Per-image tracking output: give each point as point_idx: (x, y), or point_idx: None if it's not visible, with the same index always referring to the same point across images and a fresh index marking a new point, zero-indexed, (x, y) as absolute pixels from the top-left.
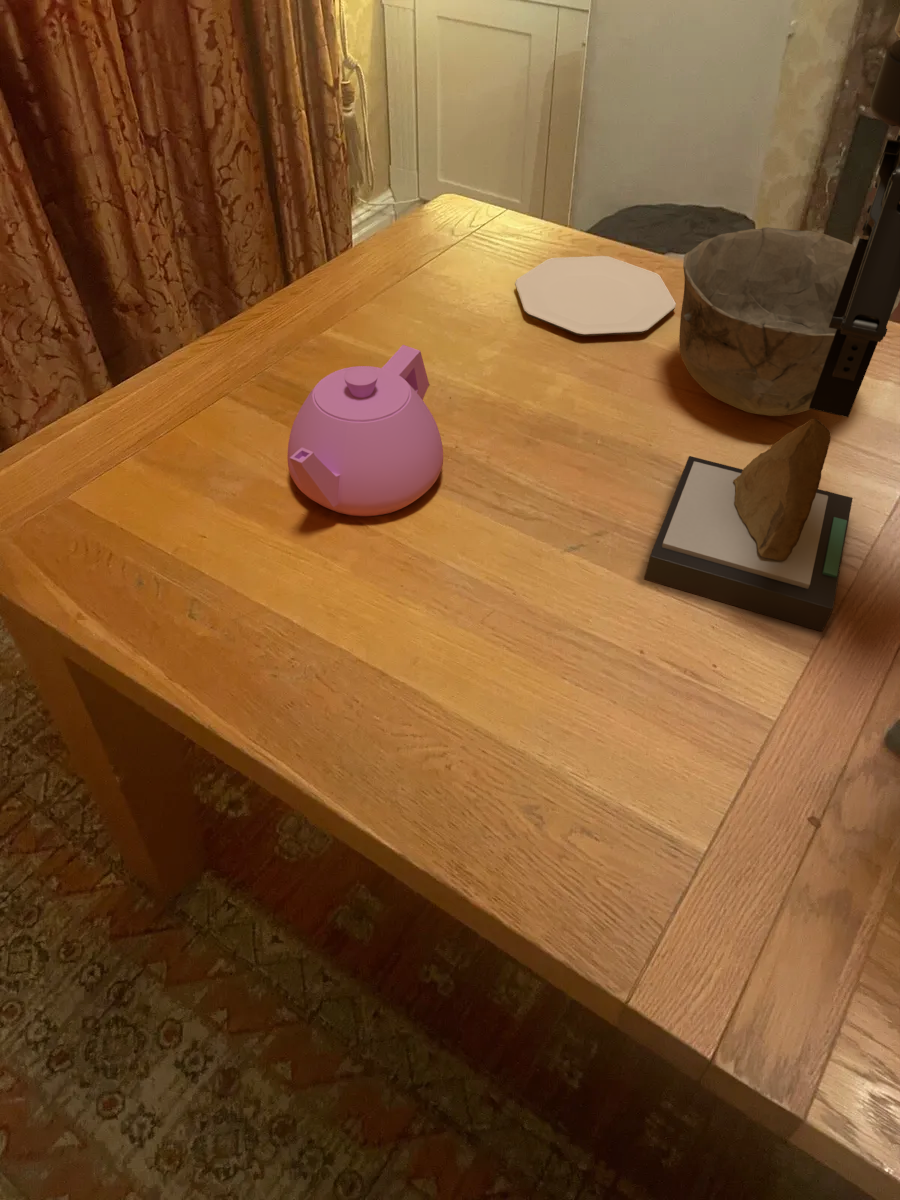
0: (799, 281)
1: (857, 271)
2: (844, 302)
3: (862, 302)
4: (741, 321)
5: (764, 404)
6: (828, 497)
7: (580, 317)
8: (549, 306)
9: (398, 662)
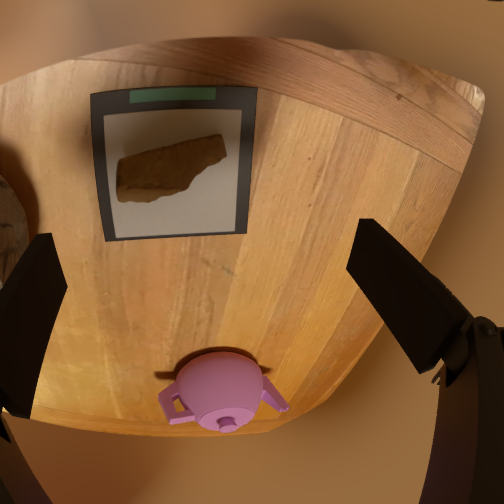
0: None
1: (34, 353)
2: (54, 304)
3: None
4: None
5: (23, 213)
6: (99, 114)
7: None
8: None
9: (340, 306)
